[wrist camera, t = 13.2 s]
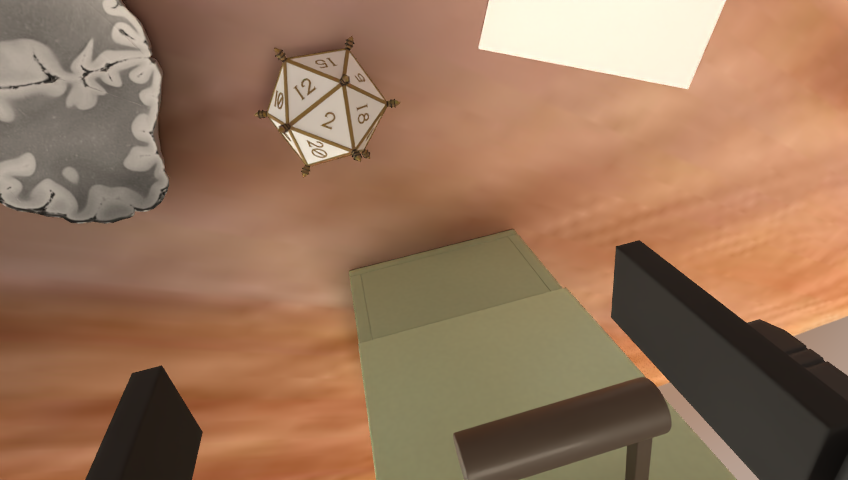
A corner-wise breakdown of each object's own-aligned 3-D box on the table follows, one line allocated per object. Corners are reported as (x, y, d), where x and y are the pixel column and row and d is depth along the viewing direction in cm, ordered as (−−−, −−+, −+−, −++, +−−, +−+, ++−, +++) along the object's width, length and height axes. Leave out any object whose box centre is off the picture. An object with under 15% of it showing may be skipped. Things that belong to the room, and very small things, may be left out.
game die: (346, 98, 39) (404, 187, 35) (243, 121, 35) (297, 222, 32) (356, -4, 32) (432, 93, 28) (229, 10, 28) (296, 124, 24)
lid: (760, 521, 20) (798, 397, 17) (400, 645, 18) (355, 537, 15) (565, 296, 36) (563, 207, 32) (361, 352, 34) (334, 264, 30)
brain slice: (-241, -83, 25) (-304, -91, 22) (96, -127, 27) (73, -138, 24) (-14, 235, 35) (-39, 255, 32) (220, 186, 37) (213, 201, 34)
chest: (522, 357, 53) (563, 429, 45) (385, 396, 51) (401, 479, 43) (513, 228, 44) (562, 287, 36) (348, 270, 43) (358, 343, 34)
